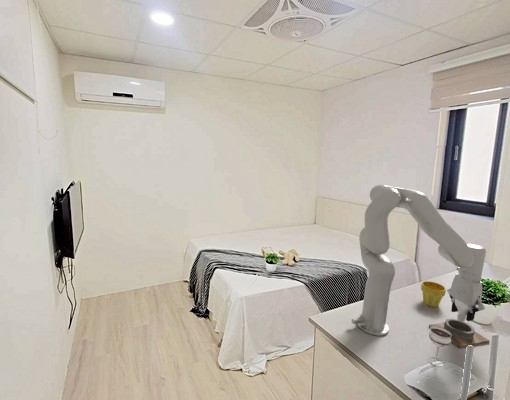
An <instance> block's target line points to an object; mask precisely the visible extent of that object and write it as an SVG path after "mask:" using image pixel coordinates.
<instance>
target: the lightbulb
mask: <svg viewBox="0 0 510 400" xmlns="http://www.w3.org/2000/svg"><path fill="white" fill-rule="evenodd" d="M455 305H456V307H457V310H458V312H457V319H456V320H459V321H461V322H465V321H466V317H467V312H468V311H469V307H468V305H466V304H464V303H463V302H461V301H459V300H457V299H455ZM472 308H473V306H472Z"/></svg>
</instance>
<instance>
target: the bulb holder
mask: <svg viewBox="0 0 510 400" xmlns="http://www.w3.org/2000/svg"><path fill="white" fill-rule="evenodd" d="M432 326H438V327H442V328H444V329H446V330H448V331H449V332H450V333H451V334H452V337H451V343H450V344H452V345H454V346H455V347H457V348H458V349H461V348H467V347H466V346H468V345H473V346H472V347H474V346H480V345H485V344H488V343H490V342H491V341H490V340H489V339H488V338H486V337H485V336H483V335H482V334H480V333H478V332H477V331H475V330H476V329H475V328H474V326H472V325H470V324H469V323H468V322H465V321H463V322H461V321H459V320H458V319H455V318H447V319H445V321H444V322H438V323H431V324H429V325H428V328H430V327H432ZM468 347H469V346H468Z"/></svg>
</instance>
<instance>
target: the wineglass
mask: <svg viewBox="0 0 510 400" xmlns="http://www.w3.org/2000/svg"><path fill="white" fill-rule="evenodd" d="M429 329H430V330H429V332H428V338H429V340H430V341H431V343H432V344H434V345H435V346H436V350H435V357H434V356H429V357H427V358H426V359H427V362H428V363H429V362H430V364H431V363H432V362H436V361H441V359H439V358H438V355H439V350H440V348H446V347H447V346H450V344H452V343H451V337H452V334H451V333H450V332H449V331H448V330H446V329H444V328H442V327H438V326H432V327H429Z"/></svg>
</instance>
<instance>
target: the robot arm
mask: <svg viewBox="0 0 510 400" xmlns="http://www.w3.org/2000/svg"><path fill="white" fill-rule="evenodd" d="M369 198H370V200H371V202H370V203H369V204H368V206H367V207H366V209H365V212H364V227H363V228H362V229H361V230H360V233H359V239H358V240H359V245H360V246H359V247H360V256H361V260H362V264H363V265H364V267H365V268H366V269H367V271H368V277H367V279H366V283H365V288H364V295H363V296H364V297H363V303H362V312H361V314H359V317H357V318H351V323H352V324H353V325H355V324H357V326H358V328H360V330H362V331H363V332H365V333H367V334H369V335H373V336H378V337H379V336H382V337H383V336H385V335H388V333H389V331H390V328H389V326H388V324H387V323H386V322H387V318H388V317H387V316H388V309H389V303H390V297H391V296H390V294H391V289H392V288H391V287H392V285H393V281H394V278H395V274H396V269H395V268H396V267H395V265H394V263H393V262H392V260H391V259H390V258H389V257H387V256H386V253H387V252H388V251H389V249H390V245H391V242H390V235H389V234H390V233H389V228H388V227H389V226H388V225H389V224H388V223H389V222H388V221H389V220H388V218H389V215H390V214H391V212H392V211H393V210H394V209H396V208H398V209H399V208H400V209H401V208H402V209H403V210H406V211H408V213H409V214H410V215H411V216H412V218H413V219H414V221H415V222H416V224H417V225H418V226H419V227H420V229H421V230H422V232H424V234H426V235H427V236H428V237H429V238H431V239H432V240H433V241H434V242H435V243H437V244H438V247H437V252H438V254H439V255H440V256H441V257H442V259H445V260H446V261H448V262H450V263H451V264H452V265H454V266H455V267H456V271H458V272H457V273H456V274H455V275H454V276H453V277H454V278H453V280H452V283H451V286H450V288H447V289H446V290H447V291H446V292H447V293H448V295H449V298H450V301H451V311H450V312H452V313H456V312H457V313H458V310H457V307H456V305H455V299H457V300H459V301H461V302H463V303H464V304H466V305H468V307H469V311H468V312H467V315H466V319H465V321H467V322H472V321H474V319H475V316H476V313H477V312H481V311H484V310H486V308H485V306H484V303H483V302H482V299H483V298H482V297H483V282H482V281H481V280H482V276H483V268H484V265H485V258H486V254H487V249H486V248H485V247H484V246H481V245H479V244H473V243H467V242H466V241H465V240H464V239H463V237H462V236H460V234H458V232H456V231H455V230H454V228H453V227H452V225H450V224H449V223H448V222H447V221H446V220H445V219H444V218H443V216H442V215H441V214H440V212H439V211H438V209H437V208H436V207H435V205H434V204H433V202H431V200H430V198H428V196H427V195H426V194H424V193H423V192H421V191H418V190H415V189H411V188H402V187H397V186H390V185H384V184H379V185H375V186H374V187H372V188H371V189H370V191H369ZM472 306H473V308H472Z"/></svg>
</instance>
